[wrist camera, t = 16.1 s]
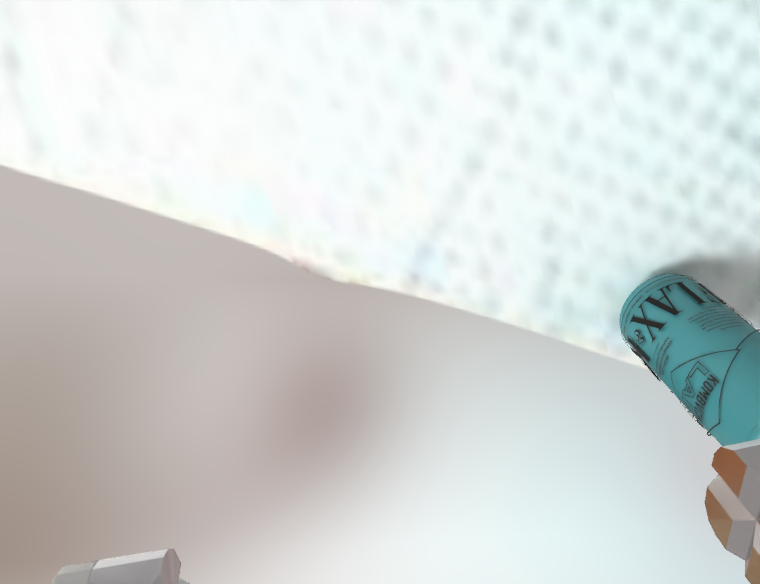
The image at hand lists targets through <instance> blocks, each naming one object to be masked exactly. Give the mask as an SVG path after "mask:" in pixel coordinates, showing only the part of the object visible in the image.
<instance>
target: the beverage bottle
mask: <svg viewBox="0 0 760 584" xmlns="http://www.w3.org/2000/svg"><path fill="white" fill-rule="evenodd" d="M688 277H689V276H688ZM691 278H692V277H691ZM693 280H694V279H693ZM693 280H692V279H690V278H687V277H684V275H677V274H664V275H660V276H656V277H654V278H651V279H649V280H647V281H646V282H644V283H642V284H641V285H640V286H638V287H637V288H636V289H635V290H634V291H633V292H632V293H631V294H630V296H629V297H628V298H627V300H626V301H625V303H624V305H623V307H622V310H621V314H620V328H621V333H622V334H623V336H624V338H625V340H626V341H627V342H628V343H629V344H630V346H631V347H632V348H633V349H634V350H635V351H634V350H633V349H632V348H631V347H630V348H631V350H632V351H633V352H634V353H635V354H636V356H639V357H640V359H643V362H644V363H645V364H644V363H643V364H644V365H646V366H647V367H648V368H649V369H650V370H651V372H652V373H653V374H654V375H655V373H656V374H657V376H656V375H655V376H656V377H657V379H658V380H659V378H660V379H661V380H662V381H663V382H664V383H665V384H666V385H667V386H668V388H669V389H670V390H671V392H673V393H674V394H675V395H676V396H677V398H678V399H679V400H680V401H681V402H682V403H683V404H684V405H685V406H686V407H687V409H688V410H689V411H690V412H691V413H692V414H693V417H694V416H695V418H696V419H697V422H698V421H699V422H698V423H699V424H700V425H701V426H702V425H703V426H704V427H705V428H706V430H707V431H708V432H707V435H708V433H710V435H712V436H714V437H715V438H716V440H717V441H718V442H719V443H720V444H721V445H722V446H727V445H732V444H737V443H742V442H747V441H752V440H757V439H760V332H759V330H756V329H755V328H754V326H753V327H752V326H751V325H750V324H749V323H747V320H744V318H741V316H740V315H737V314H738V313H737V314H736V312H735V313H734V310H733V309H734V308H733V309H732V310H733V311H732V310H731V308H730V309H729V308H728V306H725V304H726V303H724V302H725V301H724V302H723V301H722V300H720V299H719V298H718V297H716V296H715V295H716V294H715V295H714V294H713V293H711V292H710V291H709V290H707V289H706V288H707V287H706V288H705V287H704V286H702V285H701V284H699V283H696V282H695V280H694V281H693ZM742 316H743V315H742ZM746 319H747V318H746ZM751 324H752V322H751ZM755 326H756V325H755ZM623 336H622V337H623ZM623 340H624V339H623ZM627 342H626V343H627ZM627 345H628V344H627ZM652 370H653V371H654V372H655V373H654V372H653V371H652ZM658 377H659V378H658ZM689 411H688V412H689ZM703 426H702V427H703ZM710 435H708V436H710Z"/></svg>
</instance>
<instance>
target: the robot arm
mask: <svg viewBox="0 0 760 584" xmlns="http://www.w3.org/2000/svg"><path fill="white" fill-rule="evenodd" d="M712 467H713V468H714V469H715V470H716V472H717V473H718V474H719V475H718V476H717V477H716V478H715V479H714V480H713V481H712V482H711V483H710V484H709V485H708V486H707V491H706V497H705V506H706V511H707V515H708V520H709V522H710V524H711V526H712V528H713V531H714V532H715V535H716V536H717V538H718V539H719V540H720V542H721V543H722V545H723V546H724V547H725V549H726V550H728V551H730V552H731V553H733V554H735V555H737V556H738V557H740V558H742V559H743V560H745V577H746V578H747V579H748V581H749V582H750V583H751V584H760V439H757V440H752V441H747V442H742V443H737V444H732V445H727V446H722V447H720V448H719V449H718V450H717V451H716V452H715V453H714V458H713V462H712ZM180 567H181V562H180V560H179V558H178V556H177V554H176V552H175V550H174V549H165V550H158V551H152V552H146V553H139V554H133V555H126V556H120V557H114V558H108V559H101V560H96V561H91V562H84V563H79V564H72V565H67V566H63V567H62V568H61V570H60V571H59V572H58V573H57V575H56V576H55V577H54V579H53V582H52V584H190V583H188V582H186V581H184V580H182V579H181V578H179V573H180Z"/></svg>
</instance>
